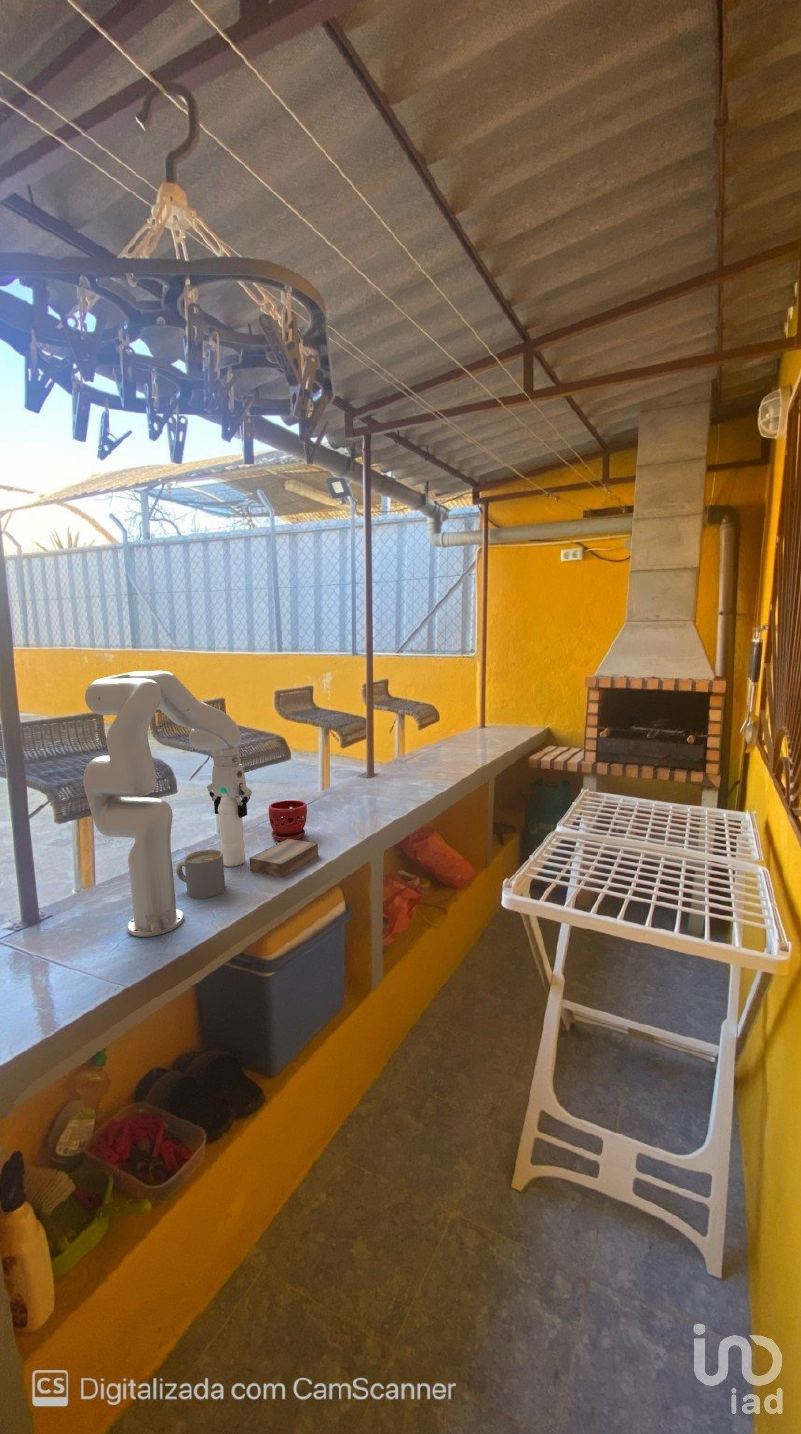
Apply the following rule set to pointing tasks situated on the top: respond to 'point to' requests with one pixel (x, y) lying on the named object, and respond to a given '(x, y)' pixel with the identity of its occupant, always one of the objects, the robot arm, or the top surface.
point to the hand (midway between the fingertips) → (231, 814)
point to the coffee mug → (203, 873)
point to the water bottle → (230, 831)
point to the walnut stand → (283, 857)
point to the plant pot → (288, 819)
